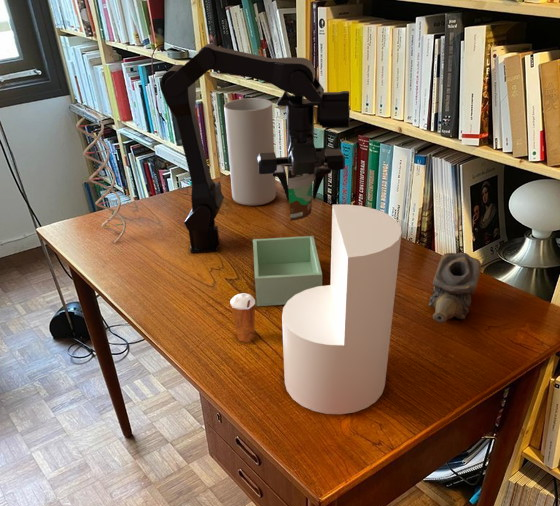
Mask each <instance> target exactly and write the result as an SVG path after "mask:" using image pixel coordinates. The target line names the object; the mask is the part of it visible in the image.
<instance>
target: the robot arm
mask: <svg viewBox="0 0 560 506" xmlns="http://www.w3.org/2000/svg"><path fill="white" fill-rule="evenodd" d="M211 70H212V71H216V72H222V73H225V74H230V75H235V76H240V77H244V78H249V79H253V80H259V81H262V82H265V83H269V84H271V85H273V86H275V88H278V89H280V90H281V91H283V94H282V95H281V96H280V97H279V98H278V100H277V102H276V106H277V107H286V139H287V140H286V143H287V144H286V147H287V149H286V150H287V156H280V157H277V156H276V152H275V151H274V152H273V153H260V154H259V155H258V156H257V157H258V170H259V174H272V175H273V176H274V177H275V178H278V180H279V182H280V184H281V186H282V188H283V191H284V195H285V197H286V201H288V202H289V191H288V176H287V172H286V167H288V166H292V171H293V174H295V175H300V174H314V173H315V176H316V177H315V180H314V181H313V182H312V200H316V197H317V195H318V192H319V189H320V186H321V185H322V181H323V180H324V178H325V176H326V175H329V174H331V173H332V171H339V170H340V171H341V170H345V169H346V158H345V157H346V156H345V155H344V153H343V151H342V150H341V149H340V148H329V149H325V147H316V145H315V107H316V123H319V126H321V128H322V129H328V128H329V129H349V128H350V117H351V116H350V115H351V105H350V93H351V92H350V91H349V90H341V91H325V89H324V87H323V86H322V84H321V83H320V81H319V79H318V78H317V76H316V70H315V67H314V64H313V63H312V62H311V60H309V59H308V58H306V57H291V56H289V57H277V58H276V57H267V56H262V55H258V54H253V53H248V52H245V51H239V50H234V49H231V48H227V47H221V46H217V45H215V44H213V43H207V44H204V46H202V47H201V48H200V49H199V50H198V52H197V53H196V54H195V55H194V56H193V57H192V58H190V59H189V60H188V61H187V62H186V63H185V64H175V65H173V66H172V67H171V68H170V69H168V70H167V71H166V72H165V73H163V74H162V76H161V78H160V81H159V87H160V88H159V89H160V91H161V94H162V96H163V98H164V101H165V103H166V105H167V107H168V109H169V110H170V113H172V115H173V116H174V118H175V121H176V125H177V130H178V133H179V137H180V140H181V141H180V142H181V145H182V149H183V153H184V157H185V161H186V165H187V168H188V172H189V178H190V181H191V195H190V197H191V198H190V199H191V210H190V211H189V213H188V215H187V217H186V219H185V220H184V226H185V228H186V229H187V231H188V236H189V242H190V249H189V250H190V253H191V254H196V253H214V252H218V247H219V246H220V233H219V225H216V221H215V219H216V218H217V215H218V214H219V211H220V210H221V207H222V205H223V201H224V199H225V196H224V195H223V193H222V184H221V181H218V182H215V181H214V179H213V178H212V177H211V174H210V170H209V166H208V161H207V156H206V152H205V148H204V147H205V146H204V143H203V139H202V134H201V131H200V126H199V122H198V118H197V113H196V111H197V110H196V107H197V88H196V87H197V85H196V82H197V81H198V80H200V78H201V77H203V76H204V75H205V74H206V73H208V71H211Z"/></svg>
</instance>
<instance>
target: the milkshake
mask: <svg viewBox="0 0 560 506" xmlns="http://www.w3.org/2000/svg"><path fill="white" fill-rule="evenodd" d="M229 303H230V308H231V312H232V317H233V323H234V327H235V332H236V333H235V334H236V338H237V339H238V340H239V342H242V343H249V342H252V341H253V340H254V339H255V336H256V335H255V334H256V333H255V330H256V328H255V327H256V325H255V323H256V321H255V316H256V315H255V314H256V298H254V296H253V295H251V294H250V293H245V292H242V293H238V294H236V295H234V296H233V297H232V298H231V299H230V302H229Z"/></svg>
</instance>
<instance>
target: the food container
mask: <svg viewBox="0 0 560 506" xmlns="http://www.w3.org/2000/svg"><path fill="white" fill-rule="evenodd" d="M315 177H316V176H315V173H314V174H300V175H295V174H293V171H292V166H287V184H288V191H289V201H288V204H289V205H288V206H289V220H290V222H293V221H299V220H303V219H305V218H308V216H310V215H311V214H312V210H313V209H312V208H313V207H312V204H313V181H314V180H315Z"/></svg>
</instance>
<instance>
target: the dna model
mask: <svg viewBox="0 0 560 506" xmlns="http://www.w3.org/2000/svg"><path fill="white" fill-rule="evenodd" d="M89 113H90V114H92V115H94V117H96V118H97V120H98V121H99V122H96V123H91V124H82V125H80V124H81V123H82V122H83V121H84V120H85V116H83V117H82V118H81V119H79V120H78V121H77V123H76V125H74V127H75V128H76V129H77V130H78V131H79V132H81V133H83V134H84V135H87V136H89V137H90V138H93V141H92V142H91V143H90V144H89V145H88V146H87V147H86V148H85V149H84V151H82V155H83V156H84V157H85V158H86V159H89V160H91V161H93V162H95V163H98V164H100V166H99V167H98V168H97V169H96V170H95V171H94V172H93V173H92V174H91V175H90V176H89V177H88V178H87V179H88V180H89V182H91V183H93V184H95V185H97V186H100V187H102V188H104V189H105V191H104V193H103V195H102V196H100V197H99V198H98V199H97V200H96V201H95V205H96V206H97V207H99V208H101V209H104V210H108V211H110V212H111V215H110V216H109V218H108V219H106V220H105V221H104V222H103V223H102V224H101V225H100V228H102V229H103V230H108V231H110V232H113V233H116V234H119V231H118V230H115V229H113V228H110V227H115V226H123V227H122V231H121V233H120V234H119V236H118V237H117V238H116V239H115V240H114V241H113V242H114V243H115V244H116V243H117V242H119V241H120V240H121V238H122V237H123V236H124V234H125V233H126V228H127V223H126V220H125V218H124V217H123V215H122V214H120V213H119V212H120V210H121V207H122V202H121V197H120V195H119V194H118V193H117V192H116V191H115V190H114V186H115V185H116V174H115V172H114V170H113V169H112V167H110V166H109V165H107V163H109V160H110V156H111V152H110V150H111V148H110V147H109V146H108V144H107V143H106V142H105V141H104V140H102V139H101V138H102V135H103V133H104V129H105V125H104V121H103V119H102V118H101V116H100V115H98V113H97V112H94V111H93V110H91V109H90V110H89ZM99 125H100V131H99V132H98V135H94V134H92V133H90V132H87V131H86V130H84V129H82V128H83V127H88V126H99ZM97 142H100V143H101V145H102V146H104V148H105V149H104V150H98V151H97V150H96V152H95V151H89V150H90V149H91V148H92V147H93V146H95V144H96V143H97ZM88 151H89V152H88ZM103 152H106V157H105V161H100V160H98V159H96V158H94V156H89V155H90V154H95V153H103ZM104 168H105V169H106V170H107V171H108V172H110V173H111V175H105V176H103V179H108V178H112V183H111V184H110V186H108V185H105V184H103V183H100V182H99V181H96V180H100V179H101V177H95V176H97V175H98V174H99V173H100V172H101V171H102V170H103V169H104ZM94 177H95V178H94ZM110 193H112V194H114V196H115V197H116V199H114V200H110V201H109V200H108V201H102V200H104V198H106V197H107V196H108V195H109V194H110ZM114 202H118V204H117V207H116V210H115V209H113V208H110V207H108V206H105V205H102V204H107V203H114ZM116 216H118V217H119V218H120V219H121V221H122V223H116V224H109V225H107V224H108V223H110V222H111V221H112V220H113V219H114V218H115V217H116Z"/></svg>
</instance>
